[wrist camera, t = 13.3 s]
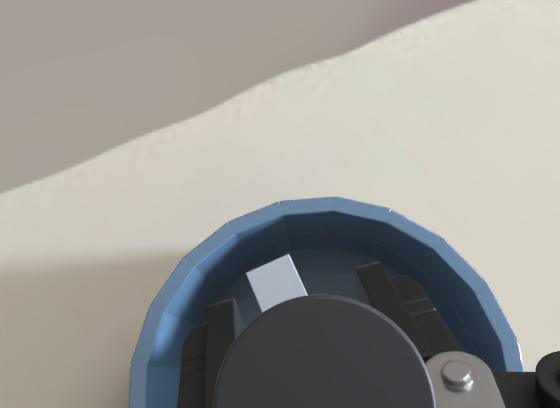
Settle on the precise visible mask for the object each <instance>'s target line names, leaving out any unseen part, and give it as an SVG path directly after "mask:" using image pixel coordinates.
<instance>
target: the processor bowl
mask: <svg viewBox="0 0 560 408" xmlns="http://www.w3.org/2000/svg"><path fill="white" fill-rule="evenodd" d="M287 254H289V255H290V257H291V260H292V262H293V264H294V266H295V268H296V271H297V273H298V275H299V277H300V279H301V282H302V284H303V286H304V288H305V291H306V293H307V295H315V294H328V295H336V296H343V297H347V298H350V299H354V300H357V301H359V300H358V295H357V289H356V284H355V278H354V273H353V268H354V267H358V266H362V265H366V264H370V263H374V262H377V261H381V263H382V264H383V266H384V268H385V270H386V271H387V273H388V275H389V277H390V278H392V277H396V276H400V275H404V274H405V275H407V276H408V277H410V278H412V279H413V280H415V281H416V282H418V283H419V284H420V285H421V286H422V288H423V289H424V291H425V292H426V294H427V296H428V298H429V300H431V302H432V303H433V305H434V306H435V309H436V311H438V313H439V314H440V316H441V317H442V319H443V321H444V322H445V324H446V325H447V327H448V328H449V330H450V331H451V333H452V335H453V336H454V338H455V339H456V341H457V342H458V344H459V345H460V347H461V349H462V350H463V352H465V353H468V354H471V355H474V356H476V357H478V358H479V359H481V360H482V361H483V362H485V363H486V364H487V366H488V367H489V368H490V369H492V370H497V371H506V372H524V367H523V362H522V357H521V353H520V348H519V343H518V340H516V339H517V337H516V335H515V333H514V332H513V330H512V328H511V326H510V324H509V322H508V321H507V319H506V317H505V315H504V313H503V311H502V309H501V308H500V306H499V304H498V302H497V300H496V298H495V296H494V295H493V293H492V291H491V289H490V287H489V285H488V283H487V282H486V281H485V279H484V278H483V277H482V276H481V275H480V274H479V273H478V272H477V271H476V270H475V269H474V268H473V267H472V266H471V265H470V264H469V263H468V262H467V261H466V260H465V259H464V258H463V257H462V256H461V255H460V254H459V253H458V252H457V251H456V250H455V249H454V248H453V247H452V246H451V245H450V244H449V243H448V242H447V241H446V240H445V239H444V238H442V237H441V236H439V235H438V234H436V233H434V232H432V231H430V230H429V229H427V228H425V227H423V226H421V225H420V224H418V223H416V222H414V221H412V220H410V219H409V218H407V217H405V216H403V215H401V214H400V213H398V212H396V211H394V210H392V209H391V210H390V208H387V207H382V206H378V205H373V204H368V203H364V202H359V201H354V200H350V199H345V198H341V197H323V198H311V199H299V200H287V201H280V202H276V203H274V204H271V205H269V206H266V207H264V208H261V209H258V210H256V211H253V212H251V213H248V214H246V215H243V216H241V217H238V218H236V219H233V220H231V221H229V223H226V224H224V225H223V226H222V227H221V228H219V229H218V230H217V231H216V232H214V233H213V234H212V235H211V236H209V237H208V238H207V239H206V240H204V241H203V242H202V243H201V244H199V245H198V246H197V247H196V248H194V249H193V250H192V251H191V252H189V253H188V254H187V255H186V256H185V257H184V258H182V260H181V261H180V263H179V264H178V266H177V267H176V269H175V270H174V271H173V273H172V274H171V276H170V277H169V279H168V280H167V282H166V283H165V284H164V286H163V287H162V289H161V290H160V292H159V293H158V295H157V296H156V298H155V299H154V300H153V302H152V303H151V305H150V307H149V309H148V312H147V316H146V319H145V322H144V325H143V328H142V331H141V334H140V337H139V340H138V343H137V346H136V349H135V352H134V355H133V358H132V361H131V366H130V389H129V408H177V404H178V392H179V381H180V377H181V374H180V370H181V363H182V361H181V358H182V347H183V343H184V341H185V340H186V338H187V336H188V334H189V333H190V331H191V329H194V328H197V327H201V326H205V325H206V313H207V305H210V304H214V303H217V302H221V301H225V300H229V299H233V298H234V299H235V300H236V303H237V306H238V309H239V312H240V315H241V318H242V321H243V324H244V327H246V326H247V325H248V324H249V323H250V322H251V321H252V320H254V319H255V318H256V317H257V316H259V315H260V314H261V313H262V311H261V309H260V307H259V304H258V302H257V299H256V297H255V295H254V292H253V290H252V287H251V285H250V283H249V280H248V278H247V275H246V273H247V272H249V271H251V270H254V269H256V268H258V267H260V266H263V265H265V264H267V263H269V262H272V261H274V260H276V259H278V258H281V257H283V256H285V255H287Z"/></svg>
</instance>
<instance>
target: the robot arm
mask: <svg viewBox="0 0 560 408" xmlns="http://www.w3.org/2000/svg"><path fill="white" fill-rule="evenodd" d="M353 273H354V278H355V284H356V289H357V295H358V300H359V302H362V303H364V304H367V305H369V306H371V307H373V308H374V309H376V310H378V311H380V312H381V313H383V314H384V315H385V316H387V317H388V318H389V319H391V320H392V321H393V322H394V323H395V324H396V325H397V326H398V327H400V328H401V329H402V330H403V331H404V333H405V334H406V335H407V336H408V337H409V339H410V340H411V341H412V342H413V344H414V345H415V347H416V348H417V350H418V352H419V353H420V355H421V357H422V359H423V361H424V363H425V365H426V367H427V369H428V372H429V375H430V377H431V380H432V383H433V387H434V392H435V397H436V404H437V408H560V351H558V352H553V353H550V354H548V355H546V356H544V357H543V358H542V359H541V360H540V361H539V362H538V364H537V366H536V372H506V371H497V370H492V369H490V368H489V367H488V366H487V364H486V363H485V362H483V361H482V360H481V359H479V358H478V357H476V356H474V355H471V354H468V353H465V352H463V350H462V349H461V347H460V345H459V344H458V342H457V341H456V339H455V338H454V336H453V335H452V333H451V331H450V330H449V328H448V327H447V325H446V324H445V322H444V321H443V319H442V317H441V316H440V314H439V313H438V311H436V309H435V306H434V305H433V303H432V302H431V300H429V298H428V296H427V294H426V292H425V291H424V289H423V288H422V286H421V285H420V284H419V283H418V282H416V281H415V280H413V279H412V278H410V277H408V276H407V275H405V274H404V275H400V276H396V277H392V278H390V277H389V275H388V273H387V271H386V270H385V268H384V266H383V264H382V263H381V261H377V262H374V263H370V264H366V265H362V266H358V267H354V268H353ZM244 328H245V327H244V324H243V321H242V318H241V315H240V312H239V309H238V306H237V303H236V300H235V299H234V298H233V299H229V300H225V301H221V302H217V303H214V304H210V305H207V313H206V325H205V326H201V327H197V328H194V329H191V331H190V333H189V334H188V336H187V338H186V340H185V341H184V343H183V347H182V358H181V361H182V363H181V370H180V374H181V377H180V381H179V392H178V404H177V408H213V397H214V391H215V385H216V381H217V377H218V374H219V370H220V367H221V365H222V363H223V360H224V358H225V356H226V354H227V352H228V350H229V349H230V347H231V345H232V343H233V342H234V341H235V339H236V338H237V337H238V335H239V334H240V333H241V331H242V330H243V329H244Z"/></svg>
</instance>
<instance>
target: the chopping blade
mask: <svg viewBox="0 0 560 408" xmlns="http://www.w3.org/2000/svg"><path fill="white" fill-rule="evenodd" d="M246 275H247V278H248V280H249V283H250V285H251V287H252V290H253V292H254V295H255V297H256V299H257V302H258V304H259V307H260V309H261V311H262V313H261V314H260V315H259V316H257V317H256V318H255V319H254V320H252V321H251V322H250V323H249V324H248V325H247V326H246V327H245V328H244V329H243V330H242V331H241V333H240V334H239V335H238V337H237V338H236V339H235V341H234V342H233V343H232V345H231V347H230V349H229V350H228V352H227V354H226V356H225V358H224V360H223V363H222V365H221V367H220V370H219V374H218V377H217V381H216V385H215V391H214V397H213V408H437V404H436V397H435V392H434V387H433V383H432V380H431V377H430V375H429V372H428V369H427V367H426V365H425V363H424V361H423V359H422V357H421V355H420V353H419V352H418V350H417V348H416V347H415V345H414V344H413V342H412V341H411V340H410V339H409V337H408V336H407V335H406V334H405V333H404V331H403V330H402V329H401V328H400V327H398V326H397V325H396V324H395V323H394V322H393V321H392V320H391V319H389V318H388V317H387V316H385V315H384V314H383V313H381V312H380V311H378V310H376V309H374V308H373V307H371V306H369V305H367V304H364V303H362V302H359V301H357V300H354V299H350V298H347V297H343V296H336V295H328V294H315V295H307V293H306V291H305V288H304V286H303V284H302V282H301V279H300V277H299V275H298V273H297V271H296V268H295V266H294V264H293V262H292V260H291V257H290V255H289V254H287V255H285V256H283V257H281V258H278V259H276V260H274V261H272V262H269V263H267V264H265V265H263V266H260V267H258V268H256V269H254V270H251V271H249V272H247V273H246Z"/></svg>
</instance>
